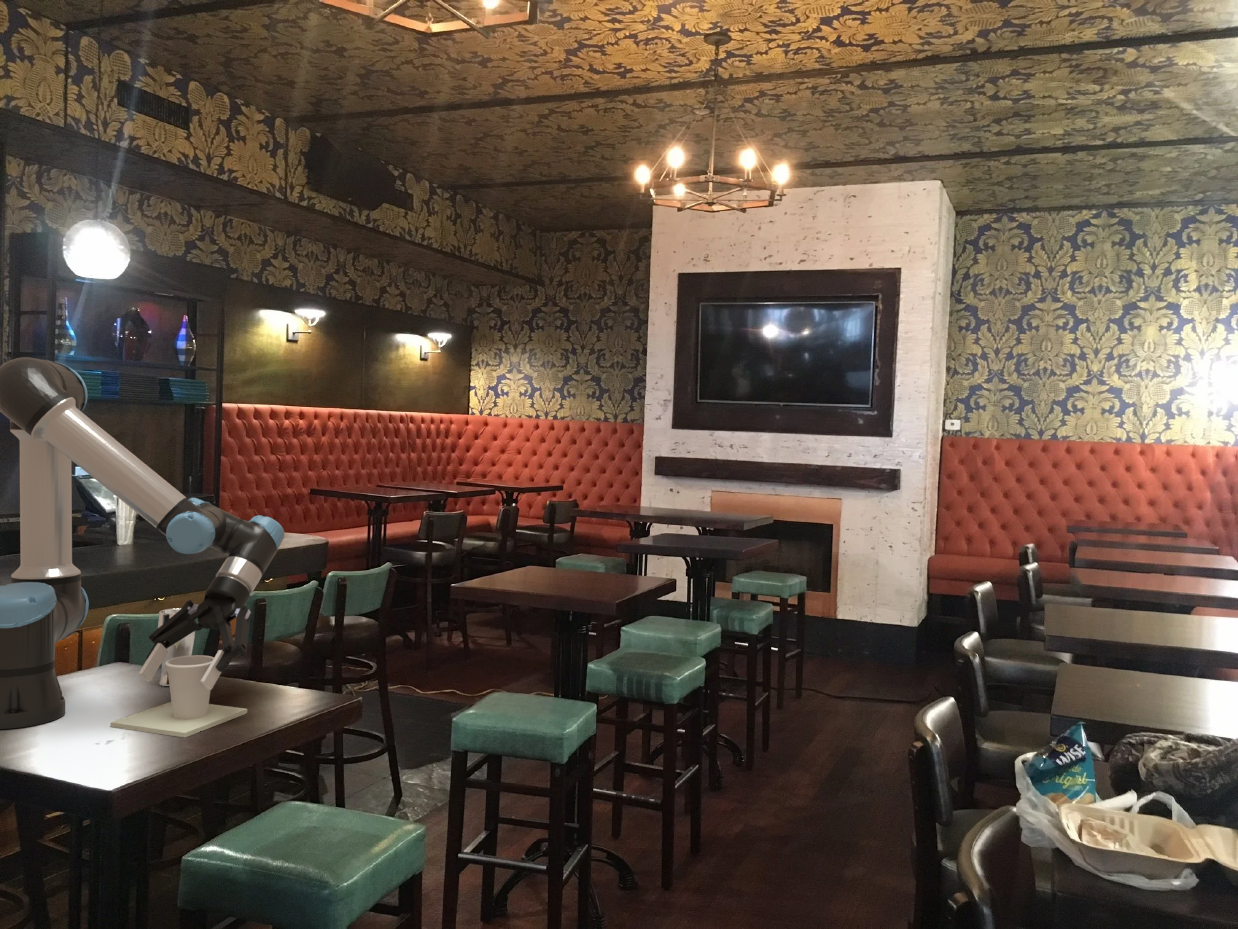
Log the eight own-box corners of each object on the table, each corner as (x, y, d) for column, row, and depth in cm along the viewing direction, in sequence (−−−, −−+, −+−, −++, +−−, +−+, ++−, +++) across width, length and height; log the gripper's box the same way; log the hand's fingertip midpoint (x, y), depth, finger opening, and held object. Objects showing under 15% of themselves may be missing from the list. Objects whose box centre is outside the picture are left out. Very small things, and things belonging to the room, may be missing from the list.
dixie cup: (196, 706, 185) (196, 653, 185) (225, 713, 180) (225, 659, 180) (154, 716, 178) (155, 661, 177) (184, 724, 173) (184, 667, 173)
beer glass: (180, 689, 199) (181, 615, 199) (149, 686, 201) (150, 612, 200) (201, 680, 206) (202, 609, 206) (171, 678, 208) (172, 607, 207)
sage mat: (110, 726, 174) (110, 722, 174) (176, 703, 189) (176, 699, 189) (185, 737, 169) (185, 733, 169) (247, 713, 184) (247, 708, 184)
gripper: (296, 602, 189) (242, 700, 176) (189, 593, 197) (130, 685, 183) (279, 579, 184) (222, 677, 170) (170, 569, 192) (107, 663, 178)
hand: (174, 681), depth 177 cm, fingers open, 13 cm apart
